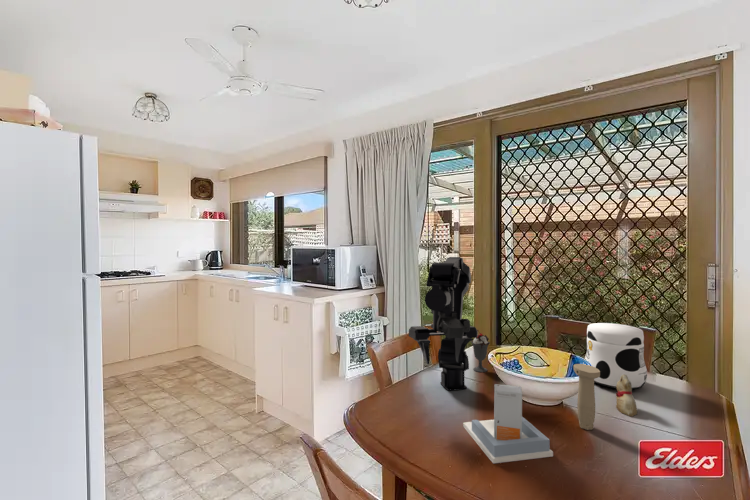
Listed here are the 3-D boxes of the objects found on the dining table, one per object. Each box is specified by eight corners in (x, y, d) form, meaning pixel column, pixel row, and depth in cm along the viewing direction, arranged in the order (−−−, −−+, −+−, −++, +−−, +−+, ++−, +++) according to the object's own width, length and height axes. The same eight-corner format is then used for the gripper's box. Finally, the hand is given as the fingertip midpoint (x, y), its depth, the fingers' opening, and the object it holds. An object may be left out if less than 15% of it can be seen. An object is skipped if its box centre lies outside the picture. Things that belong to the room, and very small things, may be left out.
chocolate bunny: (641, 408, 105) (641, 372, 104) (634, 418, 99) (635, 380, 99) (618, 402, 109) (618, 367, 108) (610, 411, 103) (610, 375, 103)
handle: (586, 420, 98) (586, 363, 98) (604, 433, 92) (604, 372, 91) (569, 421, 97) (569, 364, 97) (585, 434, 91) (586, 373, 91)
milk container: (575, 372, 132) (575, 321, 132) (628, 374, 130) (629, 322, 129) (597, 392, 115) (597, 334, 115) (659, 395, 113) (660, 335, 112)
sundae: (471, 372, 133) (471, 330, 133) (470, 366, 140) (470, 326, 139) (491, 373, 132) (491, 331, 132) (488, 367, 139) (488, 326, 138)
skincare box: (494, 441, 87) (494, 390, 86) (493, 432, 91) (493, 383, 90) (522, 445, 85) (522, 393, 84) (520, 436, 89) (521, 385, 89)
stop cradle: (463, 426, 96) (463, 412, 96) (514, 421, 98) (514, 408, 98) (493, 463, 80) (493, 447, 80) (553, 456, 82) (553, 440, 82)
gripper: (423, 311, 96) (423, 373, 95) (488, 309, 101) (488, 369, 100) (408, 306, 107) (407, 362, 106) (467, 305, 112) (467, 358, 111)
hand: (442, 363), depth 106 cm, fingers open, 9 cm apart
